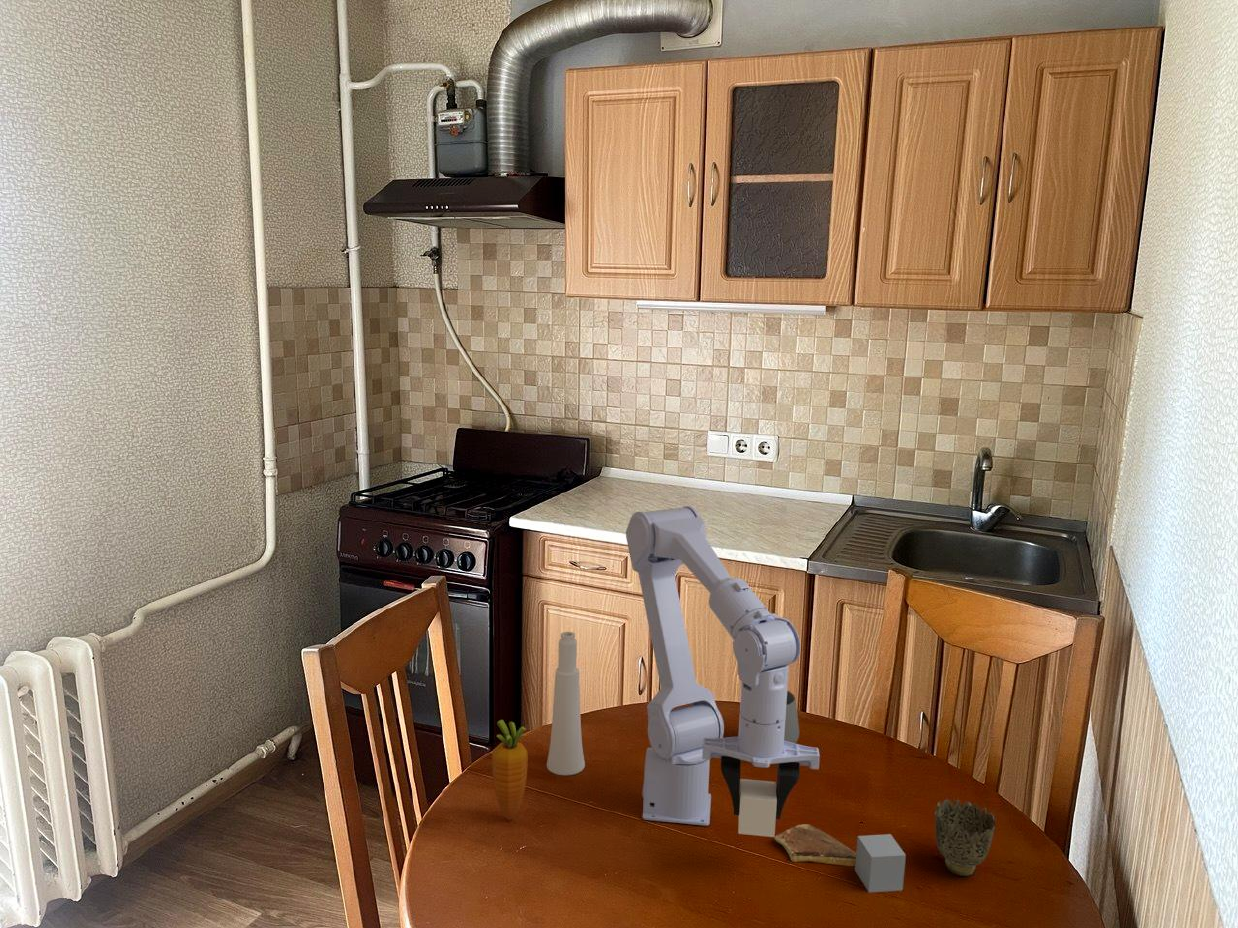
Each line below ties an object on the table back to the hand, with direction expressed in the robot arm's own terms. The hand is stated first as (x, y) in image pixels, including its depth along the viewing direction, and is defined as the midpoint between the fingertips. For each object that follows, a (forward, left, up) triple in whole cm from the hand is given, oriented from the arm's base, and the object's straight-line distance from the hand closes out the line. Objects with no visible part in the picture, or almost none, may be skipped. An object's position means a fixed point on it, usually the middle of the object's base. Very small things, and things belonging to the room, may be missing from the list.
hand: (756, 812), depth 115 cm
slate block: (+16, +1, -8) cm, 18 cm away
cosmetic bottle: (-29, +22, -9) cm, 37 cm away
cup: (+3, +32, -9) cm, 33 cm away
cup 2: (+27, +5, -9) cm, 29 cm away
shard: (+9, +7, -9) cm, 15 cm away
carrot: (-34, +6, -9) cm, 36 cm away
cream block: (0, 0, -2) cm, 2 cm away
